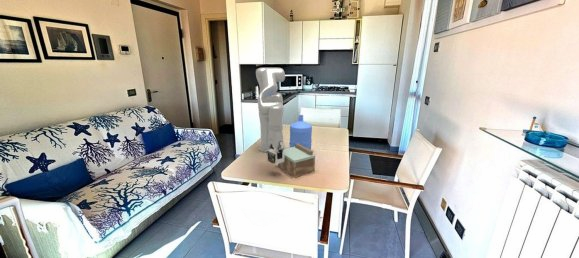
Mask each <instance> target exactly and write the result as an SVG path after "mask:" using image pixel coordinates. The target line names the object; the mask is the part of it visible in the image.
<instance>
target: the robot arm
mask: <svg viewBox="0 0 579 258" xmlns="http://www.w3.org/2000/svg"><path fill="white" fill-rule="evenodd" d="M284 70H285V69H283V68H281V67H259V68H256V69H255V76H256V80H257V83H258V85H259V94H258V97H257V107H258V108H257V109H258V118H259V123H260V125H259V126H260V146H259V147H258V151H259V152H263V153H267V150H269V149H271V144H272V146H273V148H275V149H277V151H278V153H277V159H281V158H282V152H283V150H284V149H285V146H284V136H283V135H284V133H283V124H284V123H283V117H284V100H283V95H282V93H281V92H278V90H279V88H278V82H279V83H282V82H284V81H285V79H286V74H285V71H284ZM279 146H280V147H279ZM279 148H280V150H279Z"/></svg>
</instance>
